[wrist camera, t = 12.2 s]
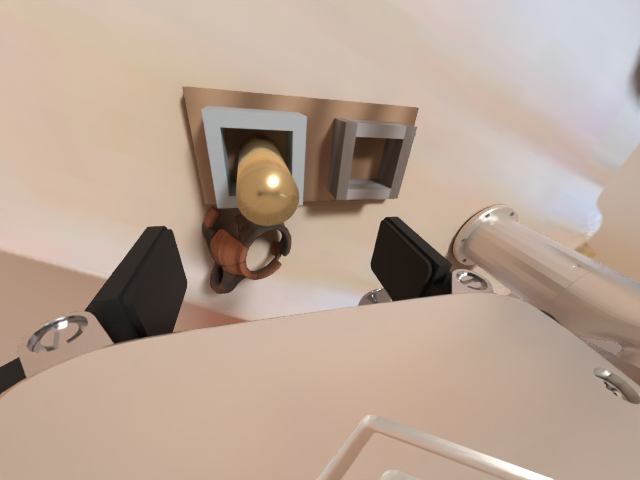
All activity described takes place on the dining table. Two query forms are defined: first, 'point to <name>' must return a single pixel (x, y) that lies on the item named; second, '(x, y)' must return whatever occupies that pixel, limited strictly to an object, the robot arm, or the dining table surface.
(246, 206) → the brass cylinder
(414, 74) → the dining table surface
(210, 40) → the dining table surface
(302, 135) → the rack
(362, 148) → the tool board
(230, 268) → the pottery mug
